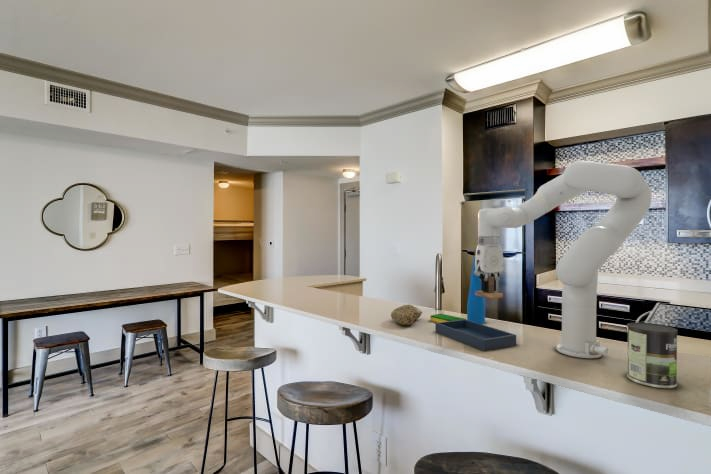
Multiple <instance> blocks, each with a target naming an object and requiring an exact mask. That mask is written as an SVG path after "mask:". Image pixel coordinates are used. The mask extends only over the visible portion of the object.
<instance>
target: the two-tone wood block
mask: <svg viewBox="0 0 711 474" xmlns="http://www.w3.org/2000/svg"><path fill="white" fill-rule="evenodd" d="M487 281H489V291H488V292H485V291H482V290H481V291H475V295H478V296H483V297H484V298H487V299H502V298H504V293H502V292H497V291H494V276H490V275H488V279H487Z"/></svg>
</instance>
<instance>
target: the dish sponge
mask: <svg viewBox="0 0 711 474" xmlns="http://www.w3.org/2000/svg"><path fill="white" fill-rule="evenodd" d="M463 319H465V320H467V318H464V317H459V316H454V315H450V314H445V313H436V314H431V315H430V319H429V320H430V322H434V323H440V322H448V321H455V320H463Z"/></svg>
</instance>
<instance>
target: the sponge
mask: <svg viewBox="0 0 711 474" xmlns="http://www.w3.org/2000/svg"><path fill="white" fill-rule="evenodd" d="M422 314H423V311H422V310H421V309H420V308H419V307H417V306H414V305H412V304H403V305H401V306H399V307H396V308H394V309H393V311H391V313H390V317H391V319H392V320H393V321H394V322H395V323H397V324H398V325H400V326H401V325H402V326H409V325H411V324H413V323H414V322H415V321H416V319H419V318H420V317H421V316H422Z"/></svg>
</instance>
